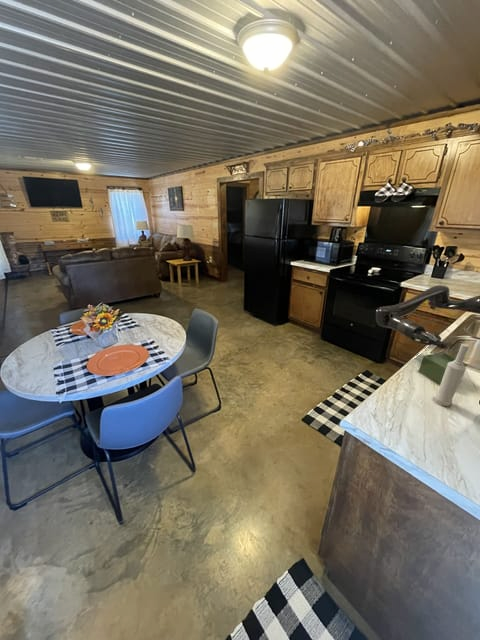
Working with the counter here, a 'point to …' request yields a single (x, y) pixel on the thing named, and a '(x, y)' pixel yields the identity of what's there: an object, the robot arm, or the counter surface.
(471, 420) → the counter surface
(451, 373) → the bottle
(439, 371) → the green hinged box
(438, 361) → the lid
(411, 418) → the counter surface
